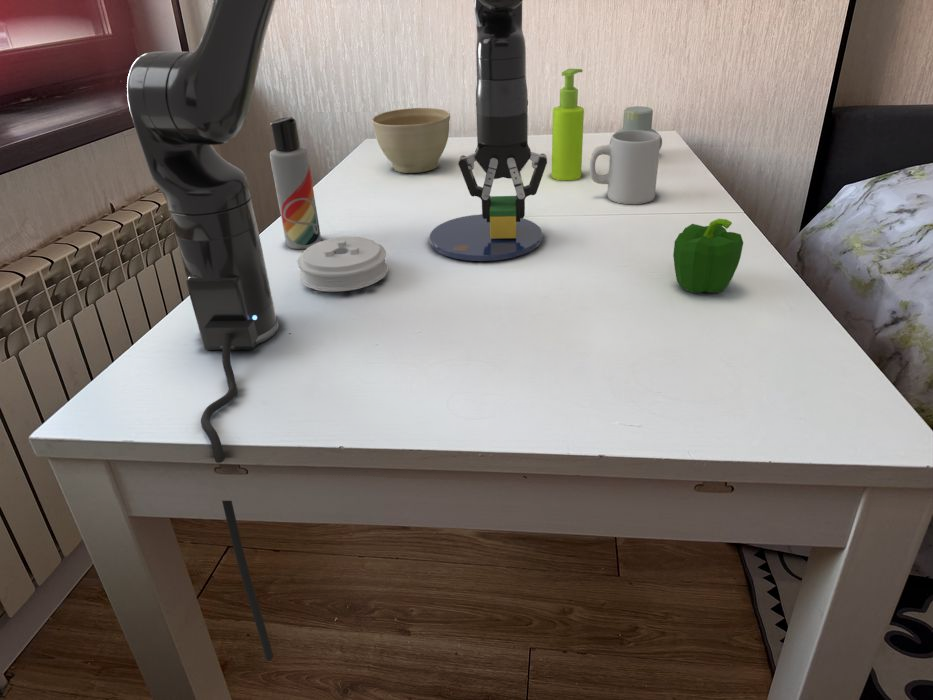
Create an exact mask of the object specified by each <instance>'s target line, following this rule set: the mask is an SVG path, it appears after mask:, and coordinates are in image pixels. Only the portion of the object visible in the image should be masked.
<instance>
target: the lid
mask: <svg viewBox="0 0 933 700" xmlns="http://www.w3.org/2000/svg"><path fill="white" fill-rule="evenodd" d="M386 258H387V250H386V248H385V246H383V245H382V244H380V243H378V242H376V241H375V240H373V239H371V238H368V237H367V238H366V237H360V236H341V237H334V238H333V237H332V238H328V239H325V240H321V241H320V242H318V243H316V244H313V245H312V246H310V247H308V248H305V249H304V251H303V252H301V254H300V255H299V256H298V258H297V266H298V268H299V269H300V271H301V272H300V275H299V276H300V277H299V278H300V281H301V283H302V285H304V286H306V288H307V287H308V288H310V289H311V290H315V291H320V292H332V293H333V292H337V293H339V292H347V291H354V290H359V289H362V288H367V287H369V286H371V285H374V284H376V283H377V282H379V281H381V280H382V279H383V278H384V277H385V276H386V275H387V274H388V271H389V267H388V264H387V262H386Z"/></svg>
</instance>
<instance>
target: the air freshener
mask: <svg viewBox="0 0 933 700" xmlns="http://www.w3.org/2000/svg"><path fill="white" fill-rule="evenodd" d="M653 113H654V110H653V109H652V107H649V106H643V105H642V106H639V105H638V106H637V105H636V106H635V105H634V106H629V107H625V109H623V119H622V128H620V129H618V130H617V131H615V133H617V132H622V131H632V130H639V131H649V132H654V133H657V134H658V135H660V133H659V132H658V131H657V130H655V129H653V128H652V126H653V117H654V116H653V115H654V114H653ZM610 144H611V139H610V140H609V145H610ZM662 146H663V138H662V136H661V135H660V148H659V151H660V150H661V149H662Z"/></svg>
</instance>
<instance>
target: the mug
mask: <svg viewBox="0 0 933 700" xmlns="http://www.w3.org/2000/svg"><path fill="white" fill-rule="evenodd" d="M616 132H617V131H616ZM616 132H614V133H613V134H611V138H610V140H611V144H610V143H609V144H604V145H600V146H597V147H596V148H594V149H593V151H592V153H591V155H590V159H589V160H590V161H589V174H590V178H591V179H592V181H593V182H594V183H596V184H600V185H607V199H609V201H612V202H614V203H618V204H624V205H643V204H647V203H650V202H652V201H653V200H654V199H655V198H656V191H657V178H658V169H659V158H660V157H659V156H660V150H659V148H660V136H661V134H659V133H658V132H657V133H658V134H659V135H658V134H657V133H654V132H649V131H639V130H632V131H622V132H617V133H616ZM660 149H661V148H660ZM601 155H606V156H608V157H609V165H608V173H606V174H601V175H600V174H598V173H597V170H596V162H597V159H598V157H599V156H601Z"/></svg>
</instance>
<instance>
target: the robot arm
mask: <svg viewBox="0 0 933 700" xmlns="http://www.w3.org/2000/svg"><path fill="white" fill-rule="evenodd" d="M276 1H277V0H212V5H211V10H210V14H209V17H208V21H207V24H206V26H205V30H204V32H203V35H202V37H201V39H200V41H199V43H198V45H197V46H196V48H195V49H194V51H178V50H177V51H175V50H174V51H173V50H172V51H168V50H167V51H166V50H164V51H163V50H158V51H151V52H146V53H144V54H142V55H140V56H139V57H137V58H136V59H135V61H134V62H133V63H132V65H131V67H130V69H129V73H128V76H127V82H126V83H127V84H126V88H127V89H126V91H127V94H126V96H127V103H128V107H129V112H130V115H131V119H132V123H133V126H134V129H135V132H136V135H137V138H138V141H139V144H140V147H141V150H142V153H143V156H144V159H145V162H146V165H147V169H148V171H149V174H150V177H151V179H152V181H153V182H154V185H155V186H156V188H157V189H158V190H159V192H160V193H161V194H162V195H163V197H164V199H165V202H166V205H167V209H168V213H169V216H170V221H171V224H172V228H173V232H174V235H175V239H176V243H177V247H178V250H179V253H180V257H181V260H182V264H183V269H184V272H185V276H186V280H185V282H186V283H185V284H186V287H187V291H188V295H189V298H190V301H191V305H192V309H193V312H194V316H195V320H196V323H197V324H196V325H197V328H198V330H199V334H200V339H201V342H202V346H203V349H204V350H205V351H221V361H222V366H223V371H224V374H225V379H226V383H227V386H228V390H227V392H226V394H224V395H223V396H222V397H220V398H218V399H217V400H215V401H213V402H212V403H210V404H209V405H208V406H207V407H206V408H205V409H204V411H203V412H202V415H201V418H200V424H201V425H200V426H201V428H202V430H203V431H204V433H205V434H206V436H207V437H208V440H209V441H210V442H209V443H210V444H211V448H212V452H213V456H214V461H215V463H217V464H219V463H222V462H224V460H225V454H224V448H223V444H222V441H221V438H220V436H219V434H218V432H217V431H216V429H215V427H214V426H213V424H212V423H211V418H212V415H213V414H214V413H215V412H217V411H218V410H220V409H221V408H223V407H225V406H226V405H227V404H229V403H230V402H232V401H233V399H234V398H235V397H236V395H237V393H238V385H237V382H236V378H235V374H234V370H233V367H232V362H231V351H233V350H234V351H235V350H240V351H241V350H242V351H247V350H251V351H252V350H253V349H255V347H256V346H257V345H259V344H261V343H263V342H266V341H267V340H269V339H271V337H273V336H274V335H275V334H276V333H277V331H278V330H279V327H280V325H279V319H278V316H277V314H276V310H275V304H274V300H273V299H274V298H273V295H272V290H271V285H270V281H269V280H270V279H269V275H268V270H267V267H266V260H265V257H264V256H265V255H264V252H263V246H262V242H261V238H260V237H261V236H260V232H259V226H258V222H257V218H256V212H255V207H254V202H253V198H252V193H251V188H250V184H249V180H248V176H247V175H246V173H245V172H244V171H243V170H242V169H240V168H238V167H237V166H235V165H234V164H231V163H230V162H228V161H227V160H226V159H225V158H223V157H222V156H221V155H220V154H219V153H218V152H217V151H216V150H215V148H214V147H213V146H219V145H225V144H227V143H229V142H231V141H232V140H234V138H236V136H238V134H239V133H240V131H241V130H242V128H243V126H244V124H245V122H246V119H247V117H248V113H249V110H250V106H251V103H252V99H253V94H254V89H255V85H256V80H257V76H258V71H259V65H260V61H261V57H262V52H263V48H264V43H265V39H266V35H267V31H268V28H269V25H270V21H271V18H272V15H273V11H274V8H275V5H276ZM523 1H524V0H473V5H474V17H475V19H474V20H475V28H476V45H475V46H476V48H475V49H476V50H475V56H476V58H475V62H476V88H475V111H476V112H475V114H476V143H477V145H476V148H475V151H474V153H471V154H469V155H463V154H462V155H461V156H459V159H458V163H457V164H458V167H459V170H460V172H461V175H462V177H463V180H464V183H465V185H466V188H467V190H468V193H469V195H470V196H471V197H477V198H478V199H480V200H481V214H482V216H483V219H487V222H490V206H491V196H492V195H491V191H492V188H493V184H494V180H498V179H502V178H503V179H508V180H509V179H511V180H512V184H513V187H514V190H515V193H516V195H515V196H516V222H520V218H524V219H525V215H526V213H525V212H526V204H525V203H526V198H527V197H529V196H535V195H536V194H537V192H538V191H539V186H540V184H541V181H542V178H543V176H544V173H545V170H546V167H547V164H548V157H547V154H546V153H540V154H539V153H536V152H533V151H531V148H530V146H529V143H528V141H529V138H528V137H529V135H528V134H529V130H528V129H529V127H528V126H529V123H528V121H529V119H528V118H529V116H528V115H529V113H528V111H529V109H528V106H529V99H528V97H529V96H528V92H529V91H528V83H527V75H526V74H527V70H526V69H527V49H526V48H527V46H526V40H525V36H524V35H525V34H524V31H523ZM529 161H531V167H532V168H533V172H532V175H531V178H530V181H529V183H528V184H526V185H524V182H523V177H522V173H521V172H522V170H523V169H524V167H525V166H526V164H527V163H528V162H529ZM475 162H477V164H478V165H479V166H480V168H482V171H484V172H485V177H484V181H483V185H482V186H479V185H478V183H477V180H476V177H475V175H474V172H473V170H474V168H475ZM221 501H222V502H221V503H222V506H223V510H224V516H225V519H226V524H227V529H228V532H229V536H230V540H231V544H232V548H233V551H234V556H235V559H236V563H237V567H238V570H239V573H240V577H241V580H242V584H243V587H244V590H245V594H246V597H247V601H248V603H249V607H250V610H251V613H252V616H253V620H254V623H255V626H256V630H257V632H258V633H257V634H258V636H259V641H260V643H261V646H262V649H263V653H264V657H265V660H266V661H272V660H273V659H274V652H273V649H272V645H271V642H270V638H269V635H268V631H267V628H266V623H265V621H264V618H263V615H262V611H261V608H260V604H259V601H258V597H257V595H256V591H255V587H254V584H253V580H252V577H251V574H250V570H249V567H248V562H247V559H246V558H247V557H246V555H245V552H244V551H245V550H244V548H243V547H244V546H243V543H242V539H241V536H240V532H239V526H238V522H237V518H236V514H235V510H234V505H233V500H221Z"/></svg>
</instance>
